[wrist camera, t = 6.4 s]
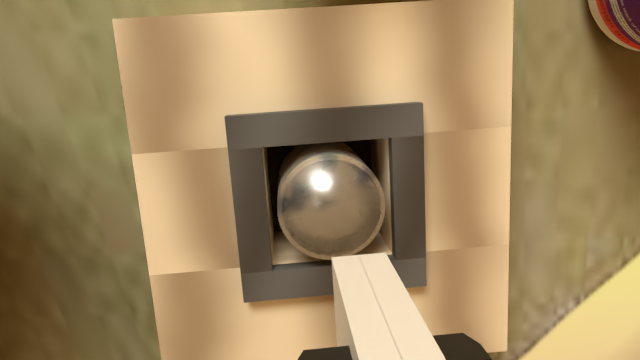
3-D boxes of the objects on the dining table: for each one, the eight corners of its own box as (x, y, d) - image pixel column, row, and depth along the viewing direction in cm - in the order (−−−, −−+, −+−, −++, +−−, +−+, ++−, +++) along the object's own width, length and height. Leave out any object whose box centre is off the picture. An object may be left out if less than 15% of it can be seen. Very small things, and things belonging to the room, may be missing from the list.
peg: (281, 227, 30) (281, 264, 24) (274, 141, 29) (272, 159, 23) (367, 220, 30) (387, 255, 24) (363, 134, 29) (383, 151, 23)
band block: (184, 333, 31) (161, 394, 26) (143, 27, 28) (105, 17, 22) (472, 306, 32) (513, 359, 27) (472, 8, 29) (521, -7, 23)
